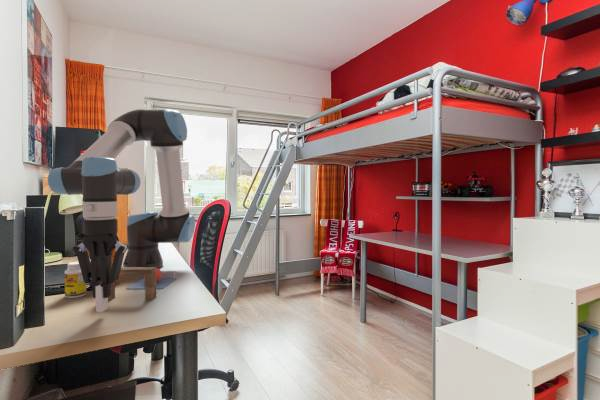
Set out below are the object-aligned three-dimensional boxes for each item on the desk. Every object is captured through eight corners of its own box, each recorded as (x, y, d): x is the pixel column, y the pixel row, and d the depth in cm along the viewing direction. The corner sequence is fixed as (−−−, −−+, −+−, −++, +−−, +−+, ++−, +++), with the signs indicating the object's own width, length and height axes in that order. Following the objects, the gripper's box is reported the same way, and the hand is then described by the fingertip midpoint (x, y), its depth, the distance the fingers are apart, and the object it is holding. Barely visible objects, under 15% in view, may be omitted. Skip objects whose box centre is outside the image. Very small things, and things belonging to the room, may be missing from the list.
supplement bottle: (60, 297, 98) (59, 264, 97) (78, 292, 103) (78, 260, 102) (72, 299, 96) (72, 265, 95) (91, 294, 101) (90, 261, 100)
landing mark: (143, 279, 118) (143, 278, 118) (176, 278, 118) (176, 278, 118) (126, 289, 106) (126, 288, 106) (162, 289, 106) (162, 288, 106)
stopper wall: (148, 277, 120) (148, 271, 120) (175, 277, 120) (175, 271, 120) (146, 278, 118) (146, 272, 118) (173, 278, 118) (173, 272, 118)
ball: (150, 272, 117) (144, 264, 112) (165, 272, 117) (160, 264, 113) (145, 286, 113) (139, 278, 109) (161, 286, 113) (156, 278, 109)
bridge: (108, 297, 98) (107, 267, 98) (156, 297, 98) (156, 267, 98) (102, 300, 95) (102, 269, 95) (152, 300, 95) (151, 269, 95)
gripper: (64, 219, 78) (66, 315, 79) (118, 219, 78) (119, 315, 79) (84, 217, 85) (85, 304, 86) (133, 217, 86) (134, 304, 86)
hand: (102, 309), depth 82 cm, fingers closed
